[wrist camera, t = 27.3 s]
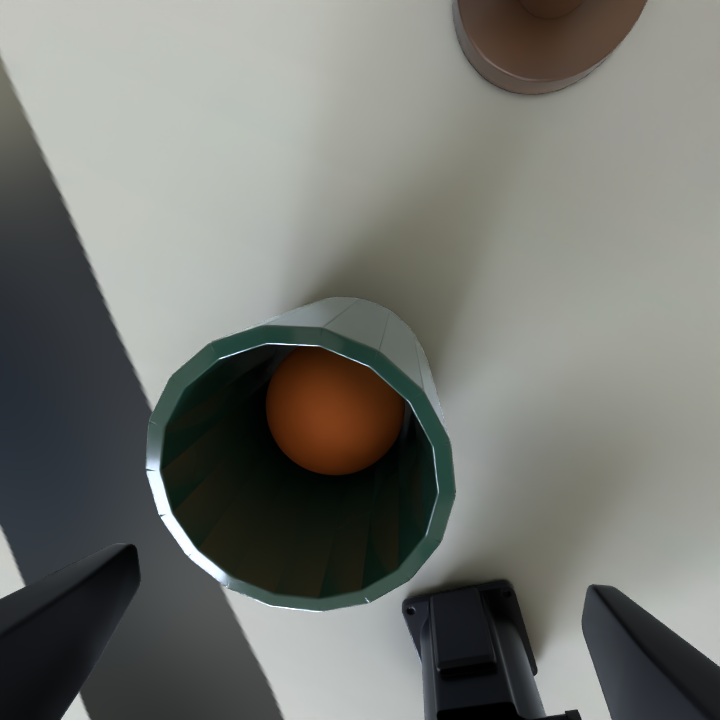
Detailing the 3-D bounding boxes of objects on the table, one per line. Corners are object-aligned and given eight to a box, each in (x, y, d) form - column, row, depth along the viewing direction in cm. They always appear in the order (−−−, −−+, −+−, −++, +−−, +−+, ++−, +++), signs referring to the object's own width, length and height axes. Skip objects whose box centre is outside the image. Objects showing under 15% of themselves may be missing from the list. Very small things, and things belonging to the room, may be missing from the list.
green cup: (449, 431, 20) (493, 581, 11) (297, 471, 22) (215, 633, 12) (401, 272, 19) (400, 278, 9) (240, 326, 20) (92, 381, 10)
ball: (418, 467, 18) (435, 423, 13) (295, 505, 18) (261, 475, 12) (380, 361, 21) (381, 292, 16) (272, 391, 21) (237, 327, 15)
